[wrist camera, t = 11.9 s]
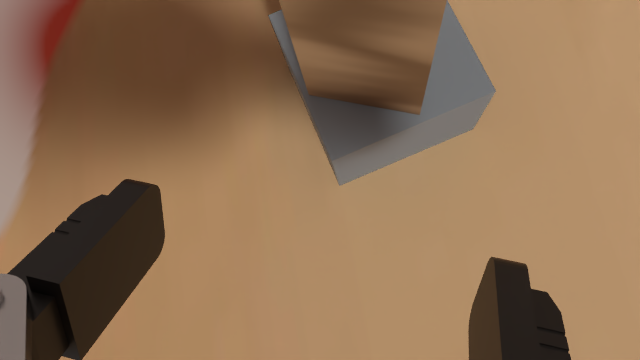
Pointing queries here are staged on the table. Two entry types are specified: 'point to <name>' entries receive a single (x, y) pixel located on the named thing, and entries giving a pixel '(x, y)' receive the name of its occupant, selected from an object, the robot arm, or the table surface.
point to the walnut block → (366, 49)
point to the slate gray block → (394, 126)
